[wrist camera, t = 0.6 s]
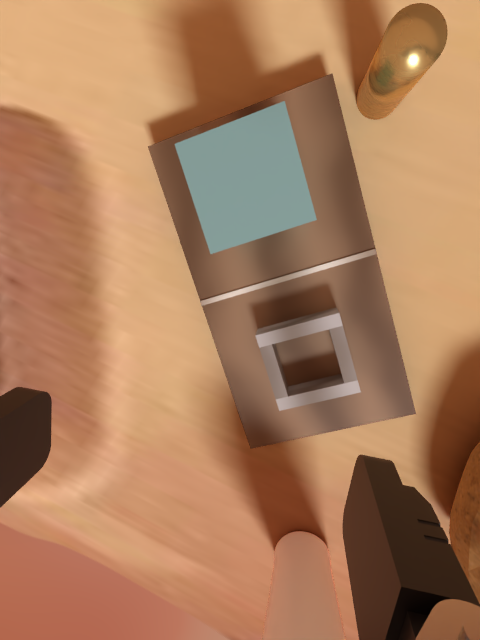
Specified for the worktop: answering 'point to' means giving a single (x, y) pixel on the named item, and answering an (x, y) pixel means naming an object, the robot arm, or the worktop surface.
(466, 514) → the potato
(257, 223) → the block
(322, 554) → the drinking glass
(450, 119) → the worktop surface
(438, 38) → the pin
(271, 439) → the board
